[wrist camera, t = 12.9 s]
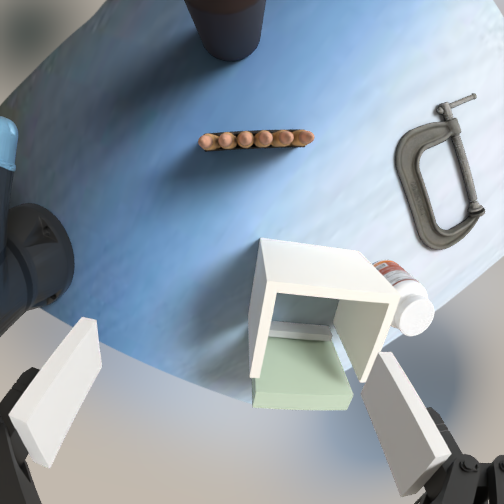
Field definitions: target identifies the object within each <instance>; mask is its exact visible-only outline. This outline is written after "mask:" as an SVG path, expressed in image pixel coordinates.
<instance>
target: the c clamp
mask: <svg viewBox="0 0 504 504" xmlns="http://www.w3.org/2000/svg"><path fill="white" fill-rule="evenodd" d="M476 98H477V96H476V94H474V93H472V95H470V96H467V97H465V98H462V99H460V100H458V101H455V102H453V103H448V102H445V103H441V104H440V105H439V106H440V107H438V108H437V112H438V113H439V114H442V113H443V116H444V118H445V121H444V122H433V123H429V124H425V125H422V126H420V127H417V128H415V129H412V130H410V131H409V132H407V133H406V134H405V135H404V136H403V137H402V139H401V140H400V142H399V144H398V146H397V150H396V156H395V161H396V168H397V171H398V174H399V177H400V180H401V182H402V185H403V188H404V191H405V194H406V197H407V199H408V202H409V205H410V208H411V211H412V214H413V218H414V221H415V224H416V227H417V230H418V234H419V236H420V238H421V240H422V241H423V242H424V244H426V245H427V246H428V247H430V248H432V249H436V250H442V249H446V248H449V247H451V246H453V245H454V244H456V243H457V242H459V241H460V240H461V239H463V238H464V237H465V236H466V235H467V234H468V233H469V232H470V231H471V229H472V228H473V227H474V225H475V224H476V222H477V221H478V219H479V217H480V216H482V215H484V213H485V209H484V208H483V206H482V205H479V203H478V201H476V199H477V195H476V191H475V187H474V183H473V179H472V175H471V171H470V168H469V164H468V160H467V157H466V153H465V151H464V147H463V144H462V140H461V138H460V136H459V135H460V134H459V133H461V129H460V126H459V123H458V120H457V118H453V116H452V115H453V114H452V111H451V108H454V107H456V106H458V105H460V104H463V103H465V102H467V101H470V100H472V99H476ZM450 136H451V138H452V140H453V144H454V147H455V150H456V153H457V157H458V159H459V163H460V166H461V170H462V174H463V178H464V181H465V185H466V189H467V193H468V197H469V199H470V201H472V202H470V207H469V209H468V212H469V217H468V218H467V219H466V220H464V221H463V222H462V223H460V224H458V225H456V226H455V227H453V228H451V229H449V230H443V229H441V228H440V227H439V226H438V225H437V223H436V220H435V217H434V213H433V210H432V206H431V203H430V200H429V196H428V193H427V190H426V187H425V184H424V181H423V178H422V175H421V172H420V168H419V161H420V157H421V155H422V153H423V152H424V151H425V150H426V149H429V148H431V147H433V146H436V145H438V144H440V143H442V142H444V141H446V140H447V139H448V138H449V137H450Z"/></svg>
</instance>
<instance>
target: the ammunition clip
mask: <svg viewBox="0 0 504 504" xmlns="http://www.w3.org/2000/svg"><path fill="white" fill-rule="evenodd" d="M271 131H273V132H271ZM313 140H314V134H313V133H312V132H310V131H306V130H257V131H237V132H221V133H208V134H204V135H203V136H201V137H200V138H199V140H198V143H199V145H200V146H201V147H202V148H203V149H204V150H205V152H207V151H221V150H236V149H256V148H286V147H305V146H306V145H307V144H309V143H311V142H312V141H313Z"/></svg>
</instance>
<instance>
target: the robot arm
mask: <svg viewBox="0 0 504 504" xmlns="http://www.w3.org/2000/svg"><path fill="white" fill-rule="evenodd" d="M17 142H18V130H17V127H16V125H15V124H14V123H13V122H12V121H11V120H10V119H7V118H5V117H2V116H0V337H1V335H3V334H4V332H5V331H7V330H8V328H9V327H10V326H11V325H12V324H14V323H15V321H17V320H18V319H19V318H20V317H21V316H22V315H23V314H24V313H25V312H26V311H28V310H32V309H35V308H39V307H42V306H46V305H49V304H51V303H53V302H54V301H56V300H57V299H58V298H59V297H60V296H61V295H63V294H64V293H65V292H66V290H67V289H68V287H69V286H70V284H71V281H72V278H73V274H74V254H73V249H72V245H71V242H70V239H69V237H68V235H67V233H66V231H65V229H64V227H63V226H62V224H61V223H60V221H59V220H58V219H57V218H56V217H55V216H54V215H53V214H52V213H51V212H50V211H49V210H47V209H46V208H44V207H42V206H40V205H37V204H32V203H26V204H21V205H18V206H16V207H13V208H11V209H9V203H10V194H11V187H12V180H13V173H14V171H15V169H16V166H15V156H16V148H17ZM101 368H102V361H101V354H100V347H99V339H98V330H97V321H96V320H94V319H89V318H84V317H82V318H81V319H80V320H79V321H78V322H77V324H76V325H75V326H74V327H73V329H72V330H71V331H70V332H69V334H68V335H67V336H66V338H65V339H64V340H63V341H62V342H61V344H60V345H59V346H58V348H57V349H56V350H55V352H54V353H53V354H52V355H51V357H50V358H49V359H48V361H47V362H46V363H45V364H44V366H43V367H42V368H41V370H39V369H36V368H33V367H32V368H30V369H29V370H27V371H25V372H24V373H22V375H21V376H20V377H19V379H18V380H17V382H16V383H15V384H14V385H13V387H12V389H10V391H9V392H8V393H7V394H6V396H5V397H4V398H3V400H2V401H1V402H0V504H42V503H41V501H40V498H39V496H38V493H37V491H36V488H35V485H34V482H33V480H32V477H31V474H30V471H29V468H28V465H27V462H26V461H25V459H26V457H27V455H28V453H29V455H30V457H31V458H32V460H33V462H36V463H38V464H40V465H43V466H45V467H47V468H50V467H51V465H52V463H53V461H54V459H55V457H56V454H57V452H58V451H59V448H60V446H61V444H62V442H63V440H64V438H65V436H66V434H67V432H68V430H69V428H70V426H71V424H72V422H73V420H74V418H75V416H76V414H77V412H78V411H79V409H80V407H81V405H82V403H83V401H84V399H85V397H86V395H87V393H88V392H89V390H90V388H91V386H92V384H93V382H94V380H95V379H96V377H97V375H98V373H99V371H100V370H101ZM361 397H362V399H363V401H364V404H365V406H366V409H367V411H368V414H369V416H370V419H371V421H372V424H373V426H374V428H375V431H376V433H377V436H378V439H379V441H380V444H381V446H382V449H383V451H384V454H385V456H386V459H387V462H388V464H389V467H390V470H391V472H392V475H393V477H394V480H395V483H396V486H397V488H398V491H399V493H400V496H401V497H404V496H408V495H412V494H416V493H417V492H418V491H419V490H420V489H421V488H422V487H423V486H424V487H425V490H426V492H425V493H424V494H423V495H422V496H421V497H420V498H419V499H418V500H417V501H416V502H415V503H414V504H418V503H419V502H420V503H419V504H488V500H489V504H504V455H499V456H498V457H497V458H495V460H494V461H493V462H492V463H479V462H478V461H477V460H476V459H475V458H474V457H472V456H471V455H466V454H462V452H461V451H460V449H459V447H458V445H457V444H456V442H455V440H454V439H453V437H452V435H451V433H450V432H449V431H448V428H447V427H446V425H445V424H444V422H443V420H442V418H441V417H440V415H439V414H438V413H437V412H436V411H435V410H433V409H432V408H431V407H429V408H425V406H424V405H423V403H422V401H421V399H420V398H419V396H418V394H417V393H416V391H415V389H414V388H413V386H412V384H411V383H410V381H409V379H408V378H407V376H406V374H405V373H404V371H403V369H402V368H401V366H400V365H399V363H398V361H397V360H396V358H395V357H394V355H393V354H392V352H378V354H377V356H376V359H375V361H374V364H373V366H372V369H371V371H370V373H369V376H368V378H367V380H366V383H365V385H364V387H363V390H362V392H361Z"/></svg>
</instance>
